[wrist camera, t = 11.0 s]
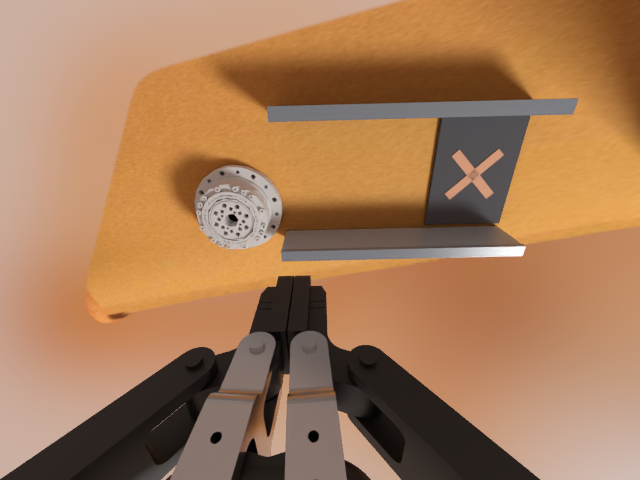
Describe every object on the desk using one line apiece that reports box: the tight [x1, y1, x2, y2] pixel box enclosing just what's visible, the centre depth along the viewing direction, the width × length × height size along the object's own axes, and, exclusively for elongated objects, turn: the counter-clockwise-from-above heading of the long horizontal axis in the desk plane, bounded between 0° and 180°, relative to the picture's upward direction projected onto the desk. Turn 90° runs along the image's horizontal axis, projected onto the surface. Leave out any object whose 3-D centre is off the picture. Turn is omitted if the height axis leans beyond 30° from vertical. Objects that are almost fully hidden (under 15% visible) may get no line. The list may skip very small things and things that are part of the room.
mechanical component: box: [194, 165, 283, 250], centre depth 32 cm, size 10×4×10 cm
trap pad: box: [424, 115, 530, 225], centre depth 32 cm, size 9×12×1 cm
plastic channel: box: [267, 98, 578, 261], centre depth 29 cm, size 26×15×6 cm, turn 91°
